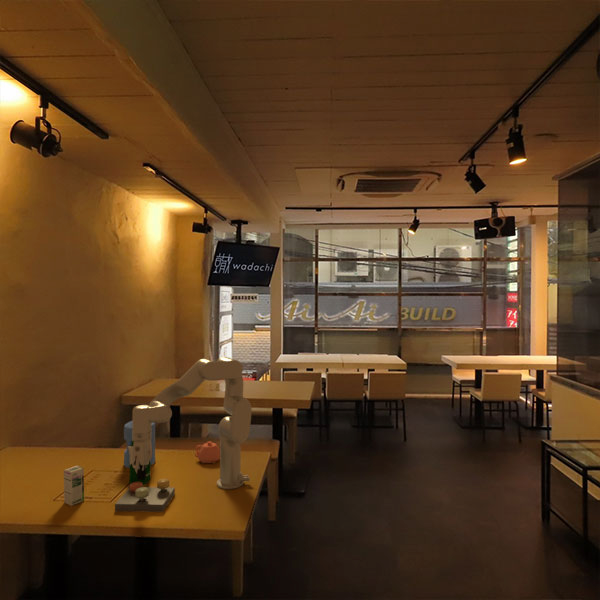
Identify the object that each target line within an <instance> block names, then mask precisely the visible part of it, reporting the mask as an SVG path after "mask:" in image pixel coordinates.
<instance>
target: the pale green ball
mask: <svg viewBox="0 0 600 600" xmlns="http://www.w3.org/2000/svg"><path fill="white" fill-rule="evenodd" d="M147 487H148V486H143V487H141V488H138V489H136V498H140V502H144V498H145V497H147V496H148V495H149V489H148V488H147Z"/></svg>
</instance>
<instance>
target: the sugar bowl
mask: <svg viewBox="0 0 600 600" xmlns="http://www.w3.org/2000/svg"><path fill="white" fill-rule="evenodd" d="M198 448H199V450H198ZM195 451H196V453H195V454H194V457H196V458H197V459H198V460H199V462H201V463H202V464H215V463H216V462H219V461H220V446H218V444H217V443H215V442H212V441H207V442H206V443H203V444H198V445H196V447H195Z"/></svg>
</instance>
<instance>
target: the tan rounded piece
mask: <svg viewBox="0 0 600 600" xmlns="http://www.w3.org/2000/svg"><path fill="white" fill-rule="evenodd" d="M156 484H157V485H156V487H157V488H158V489H161V492H165V488H168V487H170V479H169V478H165V477H164V478H160V479H158V480H157V481H156Z"/></svg>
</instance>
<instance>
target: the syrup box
mask: <svg viewBox="0 0 600 600" xmlns="http://www.w3.org/2000/svg"><path fill="white" fill-rule="evenodd" d="M84 475H85V472H84V467H82V466H80V465H74V466H72V467H69V468H66V469H64V470H63V498H64V499H63V500H64V503H65V504H66V505H69V506H71V507H72V506H73V507H74V505H77V504H79V503H82V502H84V501H85V476H84Z"/></svg>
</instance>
